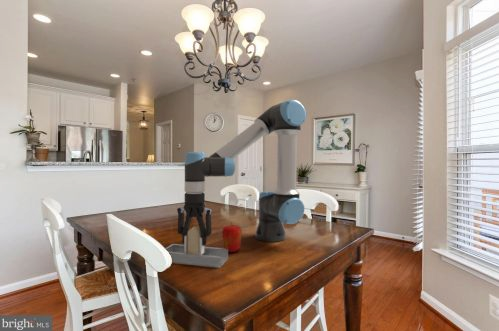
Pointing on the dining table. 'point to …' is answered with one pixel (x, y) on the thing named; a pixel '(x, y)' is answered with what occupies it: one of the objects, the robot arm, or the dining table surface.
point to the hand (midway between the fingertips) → (194, 252)
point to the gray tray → (198, 256)
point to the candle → (194, 240)
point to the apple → (232, 237)
